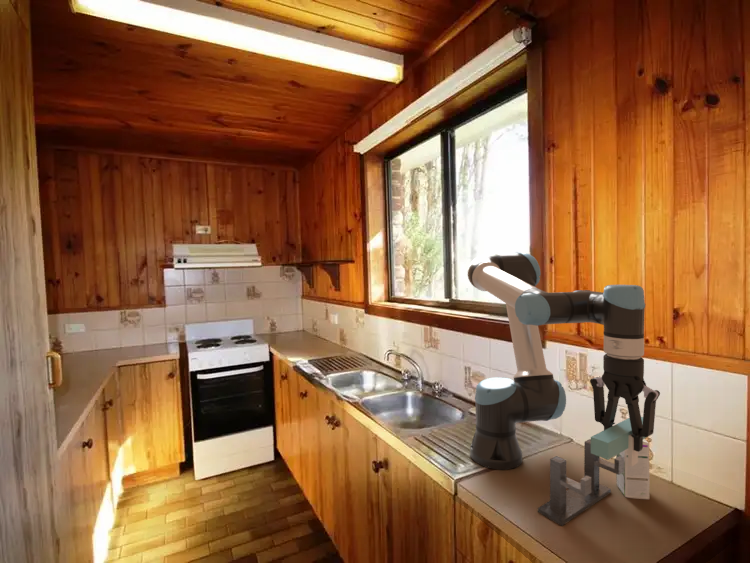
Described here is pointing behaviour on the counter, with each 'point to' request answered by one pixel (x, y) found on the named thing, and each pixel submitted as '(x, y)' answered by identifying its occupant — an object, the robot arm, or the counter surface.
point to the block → (612, 440)
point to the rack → (577, 486)
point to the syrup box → (635, 475)
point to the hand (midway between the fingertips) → (622, 459)
